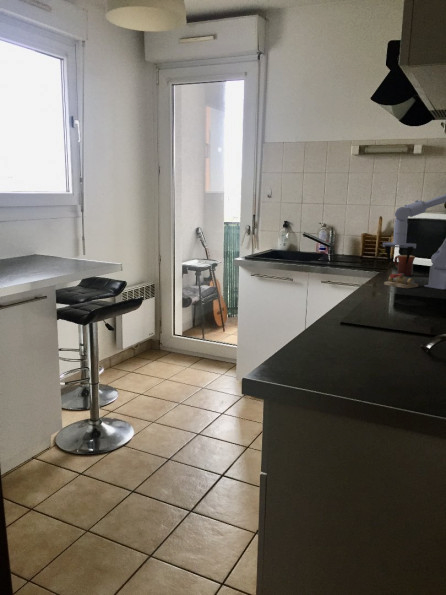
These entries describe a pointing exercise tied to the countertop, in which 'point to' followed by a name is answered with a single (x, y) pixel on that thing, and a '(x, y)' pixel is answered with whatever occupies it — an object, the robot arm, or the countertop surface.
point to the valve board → (401, 282)
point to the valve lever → (396, 275)
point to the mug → (404, 264)
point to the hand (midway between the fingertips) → (397, 263)
